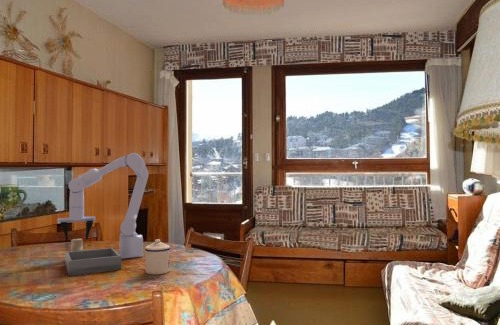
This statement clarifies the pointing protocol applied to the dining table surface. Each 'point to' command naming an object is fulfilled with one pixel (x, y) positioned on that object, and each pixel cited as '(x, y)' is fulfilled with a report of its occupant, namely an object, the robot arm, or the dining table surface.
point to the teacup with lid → (157, 258)
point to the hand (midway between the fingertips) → (76, 239)
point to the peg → (76, 244)
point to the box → (92, 261)
